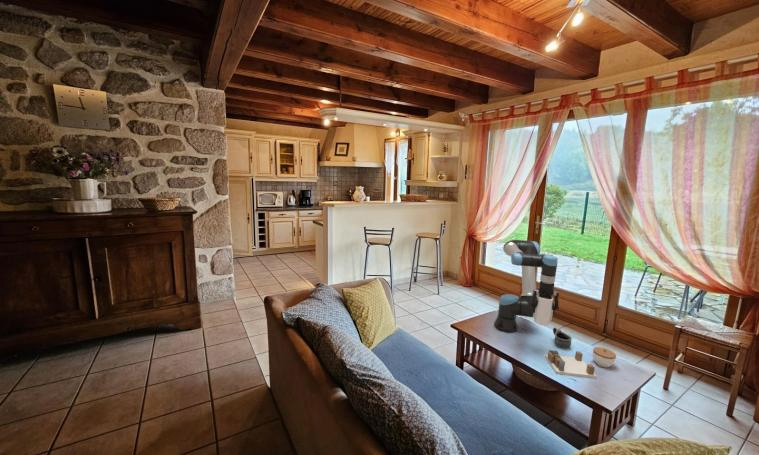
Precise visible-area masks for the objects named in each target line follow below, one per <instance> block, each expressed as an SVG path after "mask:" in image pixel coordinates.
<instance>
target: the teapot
mask: <svg viewBox="0 0 759 455" xmlns="http://www.w3.org/2000/svg"><path fill="white" fill-rule="evenodd" d="M552 332H553V335H554V343H555V345H556V346H557V347H559V348H562V349H568V348H570V347H571V346H572V340H573V337H572V336H571V335H569V334H567V333H565V332H563V331H562V330H561V329H560V328H559V327H557V326H555V327H553V328H552Z"/></svg>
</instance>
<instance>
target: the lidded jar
mask: <svg viewBox="0 0 759 455" xmlns="http://www.w3.org/2000/svg"><path fill="white" fill-rule="evenodd" d="M592 357H593V361H594V362H595V364H596V365H598V366H600V367H602V368H610V367H611V366H613V365H614V364H615V362H616V358H617V354H616V353H615V352H614V351H612V350H610V349H607V348H605V347H601V346H599V347H598V346H597V347H596V346H595V347H593V350H592Z"/></svg>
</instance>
